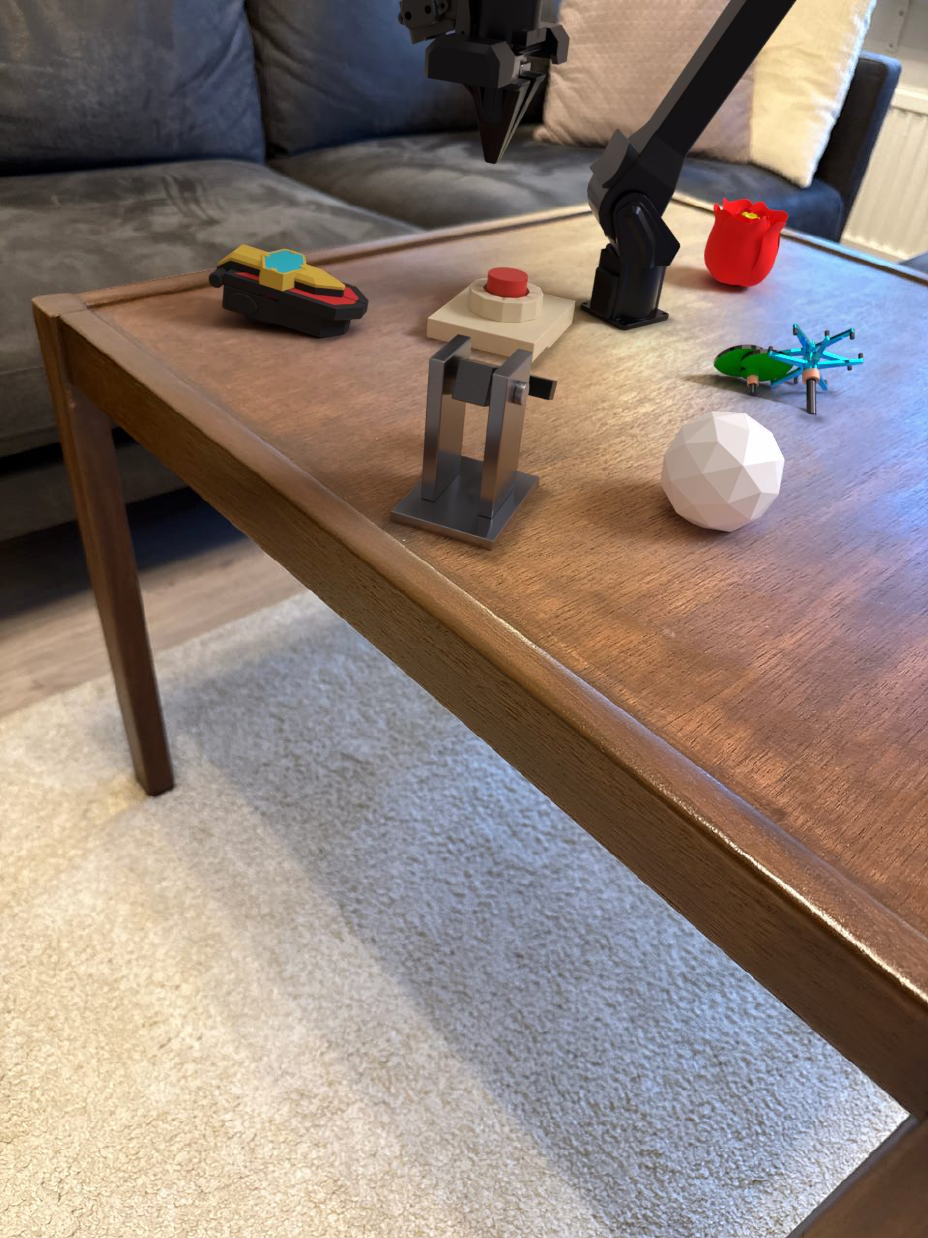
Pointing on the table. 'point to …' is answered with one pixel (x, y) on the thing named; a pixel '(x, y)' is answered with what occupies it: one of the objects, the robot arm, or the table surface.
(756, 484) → the geometric ball
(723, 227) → the flower
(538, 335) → the control box
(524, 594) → the table surface
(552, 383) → the press lever
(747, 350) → the stick construction toy
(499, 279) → the button
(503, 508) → the grey metal stand
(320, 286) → the gadget
